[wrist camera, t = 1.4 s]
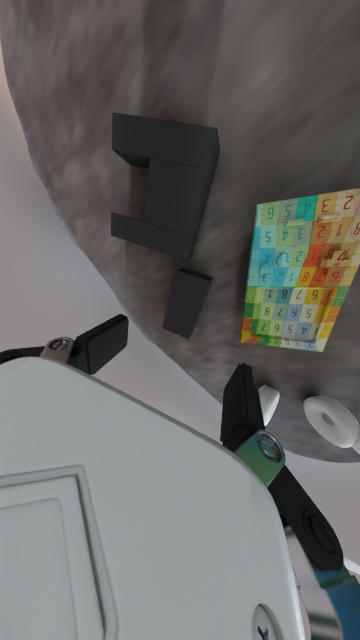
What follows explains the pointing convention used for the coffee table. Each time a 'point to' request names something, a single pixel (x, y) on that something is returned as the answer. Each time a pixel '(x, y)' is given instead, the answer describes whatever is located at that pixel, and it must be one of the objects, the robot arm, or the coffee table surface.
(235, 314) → the coffee table surface
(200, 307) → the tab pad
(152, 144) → the notch pad
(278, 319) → the puzzle game
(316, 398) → the headphones
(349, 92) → the coffee table surface
